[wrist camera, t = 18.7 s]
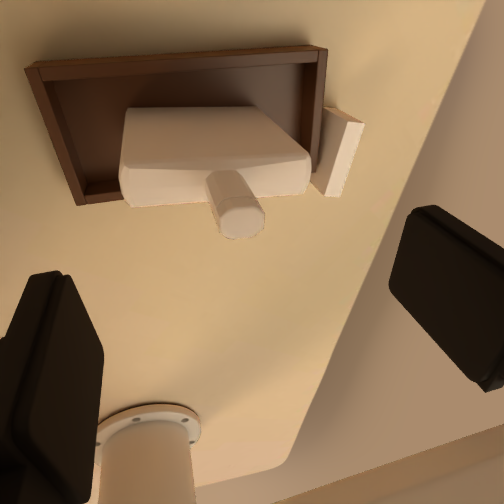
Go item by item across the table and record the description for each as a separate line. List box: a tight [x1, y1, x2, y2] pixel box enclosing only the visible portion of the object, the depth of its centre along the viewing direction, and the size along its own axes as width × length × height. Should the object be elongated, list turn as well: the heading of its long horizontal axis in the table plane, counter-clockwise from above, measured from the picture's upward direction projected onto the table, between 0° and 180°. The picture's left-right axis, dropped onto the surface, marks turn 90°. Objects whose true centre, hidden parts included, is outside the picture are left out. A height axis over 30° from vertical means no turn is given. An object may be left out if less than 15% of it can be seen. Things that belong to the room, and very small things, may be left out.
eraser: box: [310, 107, 365, 197], centre depth 23 cm, size 1×5×4 cm, turn 171°
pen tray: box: [24, 45, 328, 206], centre depth 20 cm, size 15×7×2 cm, turn 92°
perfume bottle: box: [119, 106, 311, 239], centre depth 16 cm, size 8×2×12 cm, turn 88°
